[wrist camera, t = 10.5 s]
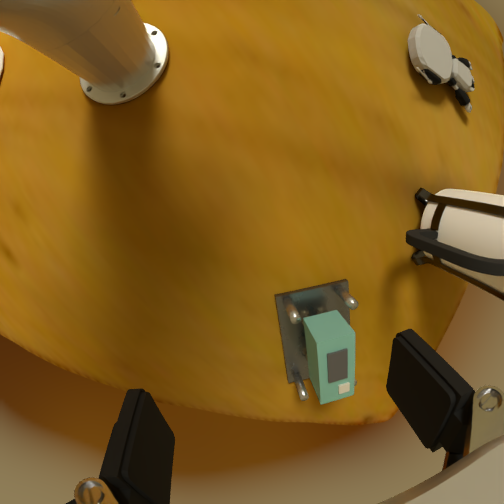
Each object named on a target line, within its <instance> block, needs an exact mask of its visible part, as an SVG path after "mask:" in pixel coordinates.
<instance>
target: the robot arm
mask: <svg viewBox="0 0 504 504" xmlns="http://www.w3.org/2000/svg"><path fill="white" fill-rule="evenodd" d="M0 31H1V32H4V33H6V34H8V35H11V36H13V37H15V38H17V39H19V40H21V41H22V42H24V43H26V44H28V45H29V46H31V47H33V48H34V49H36V50H38V51H39V52H41V53H43V54H44V55H46V56H48V57H49V58H51V59H52V60H54V61H56V62H57V63H59V64H60V65H62V66H64V67H65V68H67V69H68V70H70V71H71V72H73V73H75V74H76V75H78V76H79V77H80V84H81V87H82V89H83V91H84V92H85V94H86V95H87V96H88V97H90V98H91V99H92V100H94V101H96V102H98V103H102V104H108V105H114V104H121V103H124V102H128V101H130V100H132V99H134V98H137V97H138V96H140V95H141V94H143V93H144V92H146V91H147V90H148V89H149V88H150V87H152V86H153V84H154V83H155V82H156V81H157V80H158V79H159V77H160V76H161V74H162V73H163V71H164V69H165V67H166V64H167V61H168V57H169V47H168V43H167V40H166V38H165V36H164V35H163V33H162V32H161V31H160V30H159V29H158V28H156V27H155V26H152V25H150V24H146V23H143V21H142V20H141V18H140V16H139V14H138V12H137V10H136V9H135V7H134V5H133V3H132V1H131V0H0ZM158 67H159V68H158ZM125 95H126V96H125ZM124 96H125V97H124ZM386 388H387V392H388V394H389V395H390V397H391V398H392V399H393V401H394V402H395V404H396V405H397V407H398V408H399V410H400V411H401V412H402V414H403V415H404V417H405V418H406V420H407V421H408V423H409V424H410V426H411V427H412V428H413V430H414V432H415V433H416V435H417V436H418V438H419V439H420V440H421V442H422V444H423V445H424V446H425V447H426V448H430V449H431V451H432V452H435V451H436V450H438V449H440V448H441V447H443V448H444V449H445V450H446V454H445V459H444V464H443V469H442V471H441V472H440V473H438V474H436V475H434V476H433V477H431V478H429V479H427V480H425V481H424V482H422V483H420V484H418V485H416V486H414V487H412V488H411V489H408V490H407V491H405V492H403V493H400V494H398V495H396V496H394V497H392V498H390V499H387V500H385V501H383V502H380V503H378V504H504V393H503V391H502V390H501V389H499V388H498V387H496V386H491V385H488V386H483V387H480V388H479V389H478V390H477V391H476V392H475V391H474V390H473V388H472V387H471V386H470V385H469V384H468V383H467V382H466V381H465V380H464V379H463V378H462V377H461V376H460V375H459V374H458V373H457V372H456V371H455V370H454V369H453V368H452V367H451V366H450V365H449V364H448V363H447V362H446V361H445V360H444V359H443V358H442V357H441V356H440V355H439V354H438V353H437V352H436V351H435V350H434V349H432V348H431V347H430V346H429V345H428V344H427V343H426V342H425V341H424V340H423V339H422V338H421V337H420V336H419V335H418V334H417V333H415V332H414V331H413V330H412V329H407V330H405V331H402V332H400V333H397V335H396V338H394V339H393V344H392V352H391V360H390V366H389V373H388V379H387V385H386ZM174 445H175V437H174V434H173V432H172V430H171V429H170V427H169V426H168V424H167V422H166V421H165V419H164V417H163V416H162V414H161V412H160V411H159V409H158V407H157V406H156V404H155V402H154V400H153V398H152V396H151V395H150V393H149V392H145V390H144V389H129V390H128V391H127V393H126V396H125V399H124V402H123V405H122V408H121V411H120V414H119V418H118V421H117V422H116V423H115V425H114V427H113V430H112V433H111V437H110V440H109V443H108V447H107V450H106V453H105V457H104V461H103V464H102V468H101V471H100V475H99V479H98V478H94V477H89V478H86V479H83V480H82V481H80V482H79V483H78V484H77V485H76V488H75V490H74V497H75V499H73V500H72V501H70V502H68V503H66V504H170V489H171V477H172V465H173V455H174Z"/></svg>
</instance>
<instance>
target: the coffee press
mask: <svg viewBox="0 0 504 504" xmlns="http://www.w3.org/2000/svg"><path fill="white" fill-rule="evenodd" d="M415 197H416V198H417V199H418V200H419V201H420V202H422V203H423V204H424V205H425V206H426V208H425V210H424V212H423V216H422V220H421V226H420V229H416V230H409V231H407V232H406V242H407V243H408V244H409V245H411V246H413V247H415V248H417V249H420V250H419V251H417V252H415V253H414V254H413V255H412V257H411V258H412V260H413V261H414V263H415V264H416V265H421V264H426V263H430V264H432V265H435V266H437V267H439V268H441V269H443V270H445V271H447V272H449V273H451V274H453V275H455V276H457V277H459V278H461V279H463V280H465V281H467V282H468V283H471V284H472V285H475V286H476V287H478V288H480V289H482V290H484V291H486V292H488V293H489V294H492V295H493V296H495V297H497V298H499V299H500V300H502V301H504V195H497V194H491V193H484V192H476V191H468V190H459V189H444V190H441V191H439V192H438V193H436V194H435V195H433V194H431V193H429V192H428V191H426V190H425V189H423V188H420V189H419V190H418V191H417V193H416V194H415ZM425 255H426V257H423V256H425Z"/></svg>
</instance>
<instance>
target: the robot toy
mask: <svg viewBox="0 0 504 504" xmlns="http://www.w3.org/2000/svg"><path fill="white" fill-rule="evenodd" d="M418 16H419V17H420V18H421V19H422V20H423V21H424V22H425V23H426V24H423V23H422V24H420V25H418V26H416V27H414V28H413V29H412V30H411V32H410V34H409V38H408V47H409V54H410V59H411V62H412V64H413V66H414V68H415V70H416V71H417V72H418V73H419V74H420V75H421V76H422V77H423V78H424V79H426V80H427V82H428V83H429V84H434V85H437V84H442V83H446V82H447V83H448V84H449V85H450V86H452V87H453V88H454V89H455V94H456V98H457V100H458V101H459V103H460V105H461V106H465V110H466V111H467V112H471V110H472V106H471V104H470V103H469V102H470V99H469V97H468V96H467V94H466V93H465V92H471V91H474V84H473V83H474V78H473V77H472V75H471V72H470V70H472V67H471V66H470V65H471V63H470V62H469V61H468V60H467V59H465V58H457V59H456V57H455V56H454V55H452V54H451V50H450V47H449V44H448V43H447V41H446V39H445V37H443V36H442V35H441V34H440V33H439V32H438V31H436V30H435V29H434V28H432V27H431V26H430V25H429V24H428V23H427V22H426V21H425V20H424V19H423V18H422V16H421V15H419V14H418Z"/></svg>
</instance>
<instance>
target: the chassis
mask: <svg viewBox="0 0 504 504" xmlns="http://www.w3.org/2000/svg"><path fill="white" fill-rule="evenodd" d="M275 300H276V306H277V312H278V319H279V325H280V331H281V338H282V345H283V351H284V358H285V365H286V371H287V378H288V382H289V383H291V382H295V384H296V387H297V390H298V393H299V396H300V399H301V400H302V401H305V400H307V399H308V398H309V396H308V393H307V390H306V388H305V385H304V382H303V380H304V379H308V378H310V377H309V368H308V358H307V348H306V339H305V330H304V322H303V318H305V317H310V316H314V315H318V314H322V313H326V312H330V311H334V310H337V311H338V312H339V313H340V314H341V316H342V317H343V318H344V319H345V320H346V322H347V323H348V324H349V325H350V314H349V308H350V309H351V310H354V309H356V308H357V307H358V302H357V301H356V300H355V299H354V298H353V297H352V296H351V295H350V294H349V288H348V280H346V279H344V280H340V281H335V282H331V283H327V284H322V285H318V286H313V287H309V288H304V289H299V290H295V291H290V292H285V293H281V294H276V295H275ZM356 384H357V381H356V380H355V379H354V386H355V385H356Z"/></svg>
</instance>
